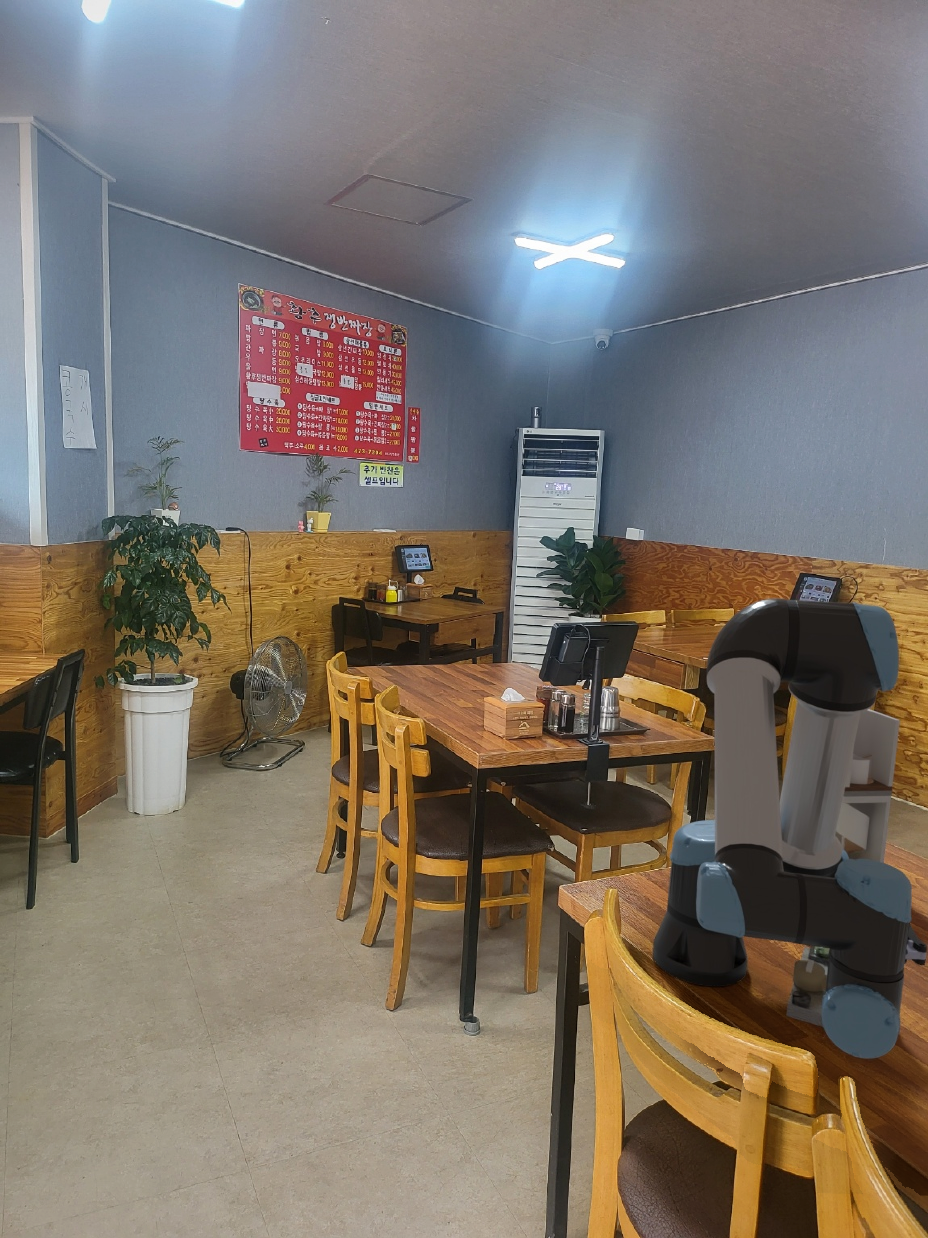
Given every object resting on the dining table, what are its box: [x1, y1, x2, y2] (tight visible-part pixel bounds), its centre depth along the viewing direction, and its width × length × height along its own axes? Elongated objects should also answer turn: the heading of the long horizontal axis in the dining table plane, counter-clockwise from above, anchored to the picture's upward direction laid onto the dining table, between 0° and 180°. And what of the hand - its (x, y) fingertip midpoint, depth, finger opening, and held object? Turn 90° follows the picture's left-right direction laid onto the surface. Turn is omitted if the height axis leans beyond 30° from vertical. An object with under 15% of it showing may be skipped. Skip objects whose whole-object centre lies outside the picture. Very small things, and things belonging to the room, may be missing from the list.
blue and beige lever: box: [792, 959, 827, 992], centre depth 128 cm, size 13×4×12 cm, turn 61°
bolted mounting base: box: [786, 946, 829, 1028], centre depth 132 cm, size 20×12×4 cm, turn 151°
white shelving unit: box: [835, 708, 901, 863], centre depth 177 cm, size 11×11×35 cm
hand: (876, 897), depth 123 cm, fingers closed
